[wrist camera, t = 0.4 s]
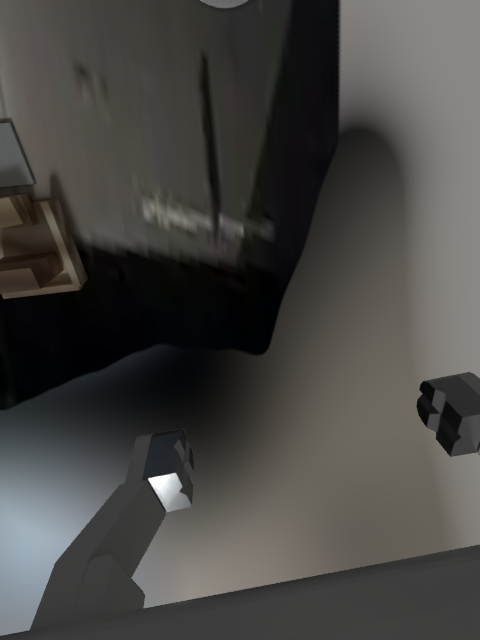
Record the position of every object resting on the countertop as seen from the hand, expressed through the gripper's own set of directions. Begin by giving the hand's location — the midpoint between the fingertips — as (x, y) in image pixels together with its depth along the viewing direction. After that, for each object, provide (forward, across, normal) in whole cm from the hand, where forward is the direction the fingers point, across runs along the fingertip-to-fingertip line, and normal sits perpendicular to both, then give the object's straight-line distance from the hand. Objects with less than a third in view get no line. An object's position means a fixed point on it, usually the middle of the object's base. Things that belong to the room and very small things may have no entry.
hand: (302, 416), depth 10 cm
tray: (+47, +36, 0) cm, 59 cm away
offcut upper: (+44, +35, -6) cm, 56 cm away
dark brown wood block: (+46, +36, +3) cm, 59 cm away
